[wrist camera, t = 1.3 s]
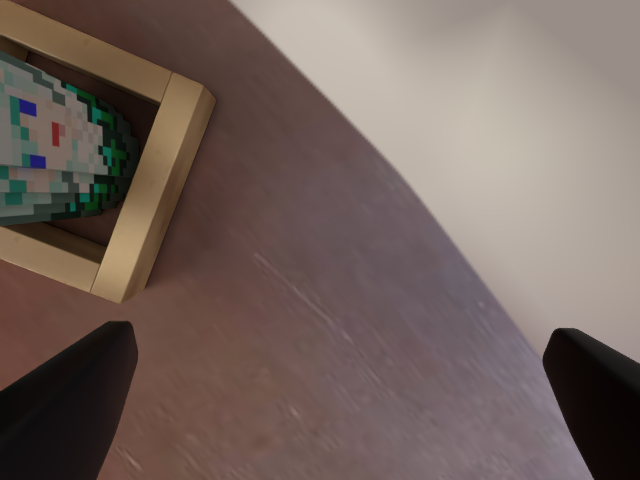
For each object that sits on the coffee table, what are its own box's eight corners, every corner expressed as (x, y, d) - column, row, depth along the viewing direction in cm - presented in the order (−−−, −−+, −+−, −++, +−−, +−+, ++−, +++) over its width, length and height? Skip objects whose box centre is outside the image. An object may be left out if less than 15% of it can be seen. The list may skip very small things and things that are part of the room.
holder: (143, 290, 22) (120, 304, 19) (-58, 213, 21) (-116, 216, 18) (216, 100, 22) (203, 85, 19) (9, 10, 20) (-39, -21, 18)
